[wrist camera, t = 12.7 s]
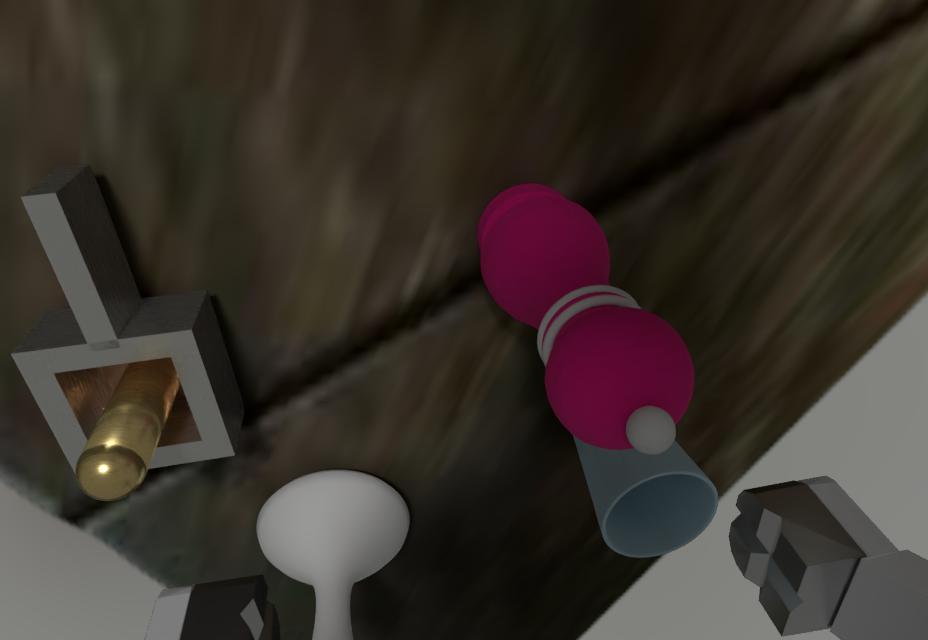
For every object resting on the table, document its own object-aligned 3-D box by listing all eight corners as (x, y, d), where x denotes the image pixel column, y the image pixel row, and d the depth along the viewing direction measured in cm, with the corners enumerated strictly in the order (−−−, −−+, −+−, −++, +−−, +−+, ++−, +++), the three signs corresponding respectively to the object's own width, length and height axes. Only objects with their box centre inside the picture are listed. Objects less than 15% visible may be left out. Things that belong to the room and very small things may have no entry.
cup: (568, 369, 45) (622, 472, 37) (663, 373, 47) (737, 472, 38) (545, 448, 49) (589, 559, 40) (634, 449, 51) (694, 555, 42)
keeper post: (69, 317, 37) (-24, 442, 28) (206, 300, 38) (161, 415, 29) (116, 420, 42) (48, 559, 32) (239, 402, 42) (208, 532, 33)
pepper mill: (478, 292, 41) (571, 536, 24) (459, 189, 37) (552, 392, 20) (584, 267, 41) (750, 490, 24) (576, 162, 37) (765, 340, 21)
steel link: (-19, 175, 32) (-69, 206, 28) (165, 155, 33) (140, 183, 29) (103, 429, 41) (78, 479, 37) (245, 408, 41) (234, 455, 38)
